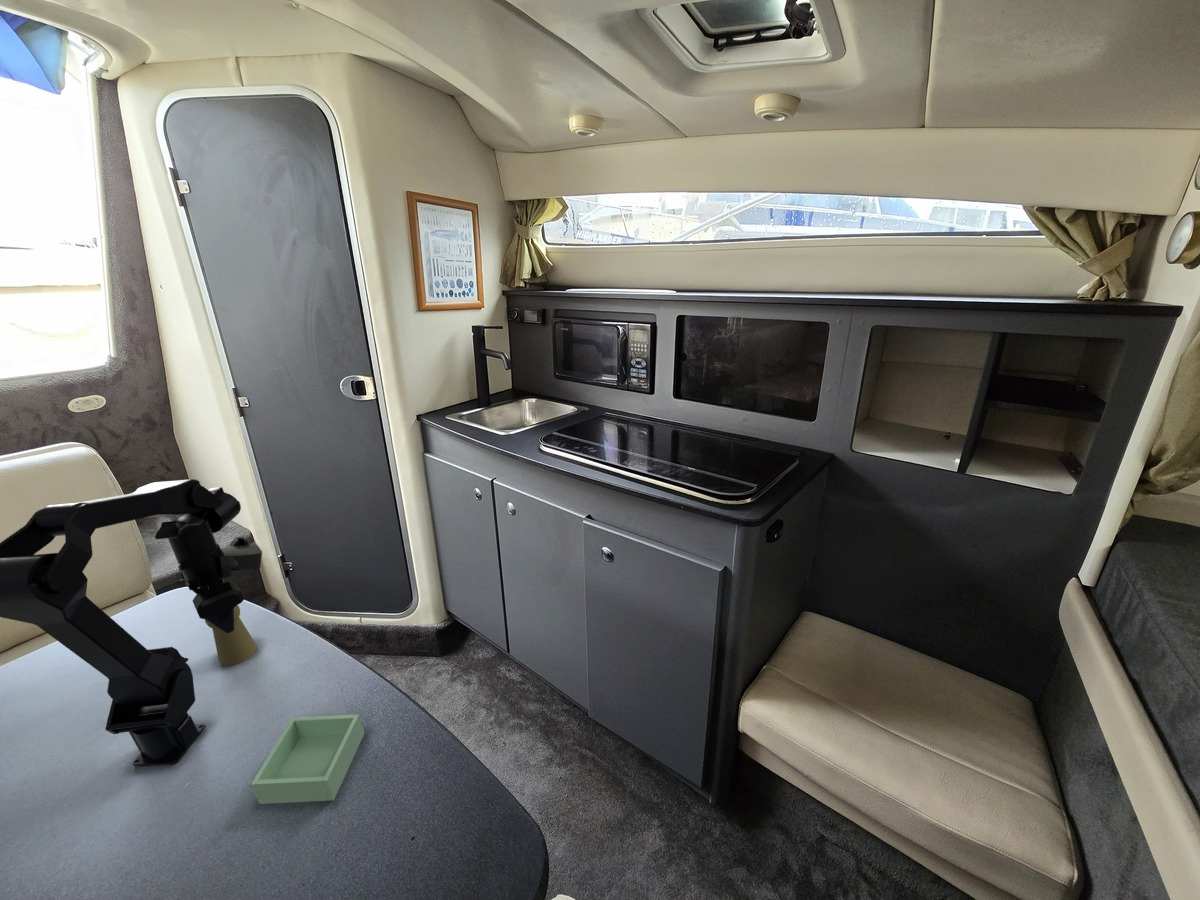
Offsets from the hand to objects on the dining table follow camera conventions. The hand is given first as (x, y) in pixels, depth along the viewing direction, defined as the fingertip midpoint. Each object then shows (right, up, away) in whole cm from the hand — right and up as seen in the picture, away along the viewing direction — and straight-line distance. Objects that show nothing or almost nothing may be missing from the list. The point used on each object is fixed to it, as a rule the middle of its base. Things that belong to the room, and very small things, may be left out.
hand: (224, 619), depth 91 cm
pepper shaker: (0, -8, +3) cm, 8 cm away
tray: (+27, -15, -18) cm, 36 cm away
